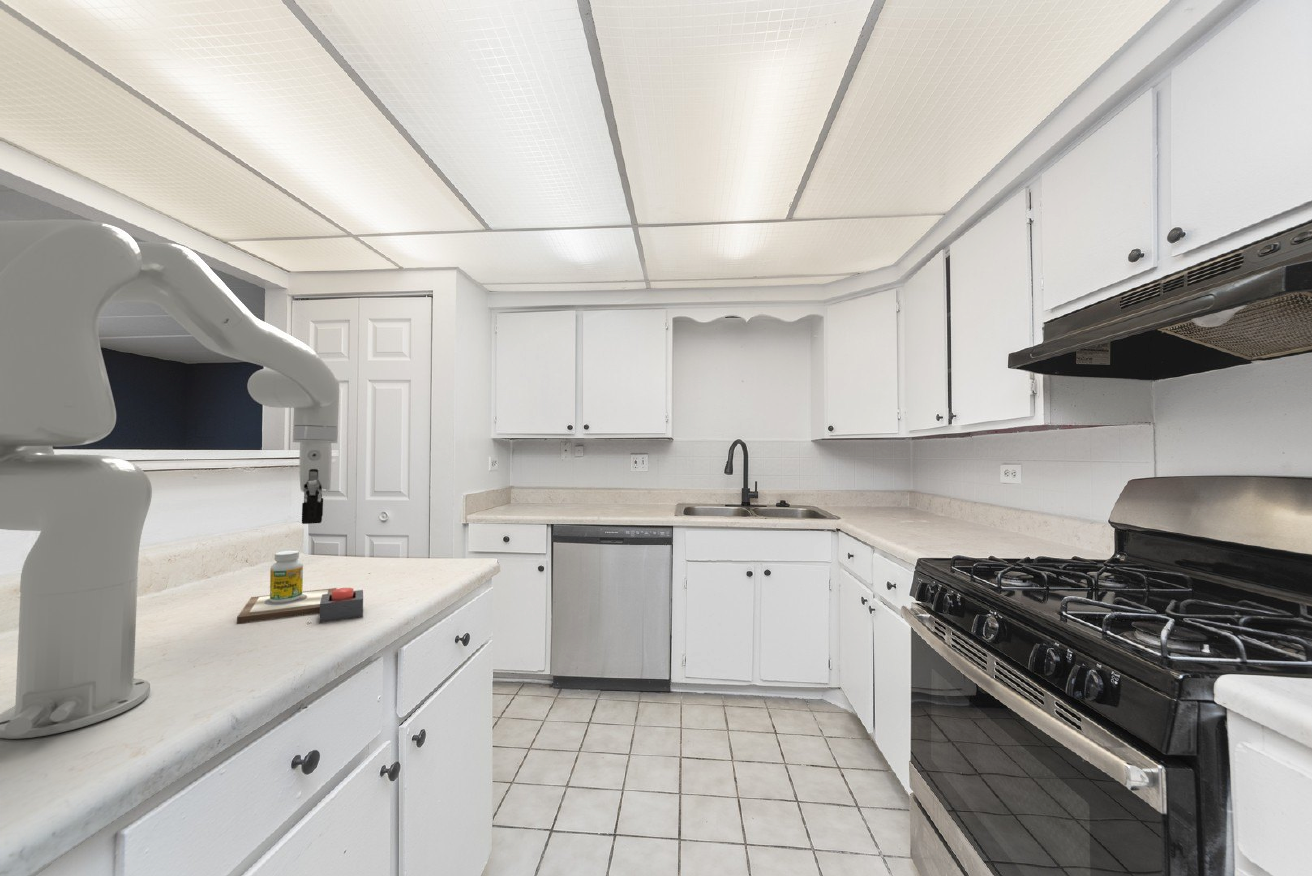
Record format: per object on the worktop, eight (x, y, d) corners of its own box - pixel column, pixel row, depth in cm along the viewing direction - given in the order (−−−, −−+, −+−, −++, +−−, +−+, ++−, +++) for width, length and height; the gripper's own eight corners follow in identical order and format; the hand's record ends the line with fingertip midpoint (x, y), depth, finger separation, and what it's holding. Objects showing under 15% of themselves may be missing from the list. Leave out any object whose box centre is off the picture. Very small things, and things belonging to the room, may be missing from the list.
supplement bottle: (303, 593, 105) (304, 548, 105) (301, 600, 101) (302, 553, 101) (271, 597, 102) (272, 551, 102) (267, 605, 98) (269, 556, 98)
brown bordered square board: (333, 611, 99) (333, 603, 99) (236, 623, 91) (237, 615, 91) (336, 593, 111) (336, 586, 111) (251, 602, 103) (251, 595, 103)
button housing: (362, 617, 96) (363, 598, 96) (319, 623, 92) (319, 604, 93) (362, 606, 102) (363, 589, 102) (321, 612, 99) (322, 594, 99)
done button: (352, 604, 97) (353, 591, 97) (330, 607, 95) (331, 593, 95) (353, 599, 100) (353, 586, 100) (331, 601, 98) (332, 589, 98)
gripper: (338, 435, 95) (334, 524, 95) (337, 437, 110) (334, 514, 109) (289, 434, 91) (286, 527, 91) (295, 435, 106) (292, 516, 105)
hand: (312, 520), depth 100 cm, fingers open, 9 cm apart
